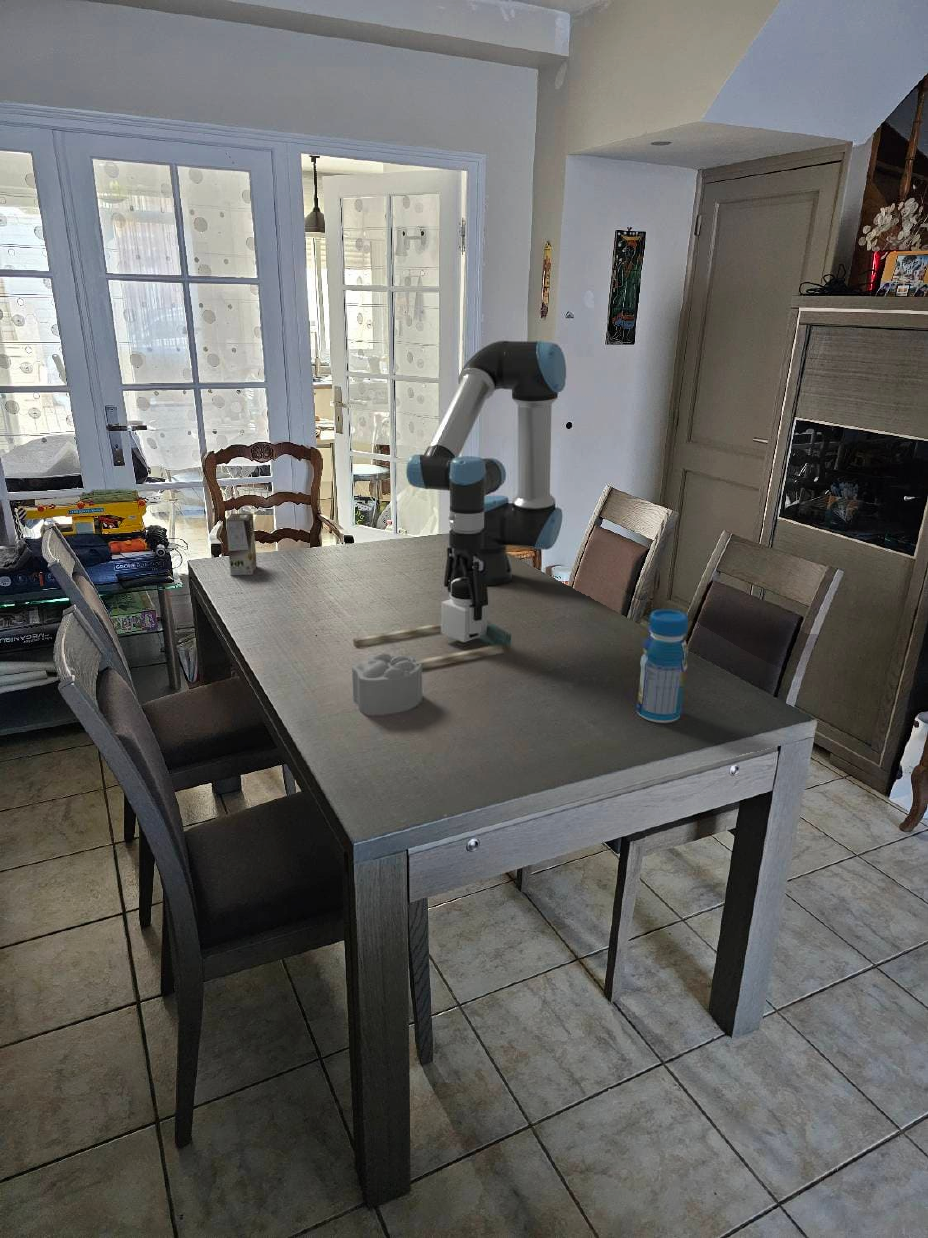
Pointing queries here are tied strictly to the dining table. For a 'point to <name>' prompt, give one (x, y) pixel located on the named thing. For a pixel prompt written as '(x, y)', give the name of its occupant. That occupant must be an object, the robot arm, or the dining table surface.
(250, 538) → the coffee box
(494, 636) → the beige u-shaped frame
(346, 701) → the dining table surface
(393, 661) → the lumpy-topped squat cylinder
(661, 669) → the beverage bottle
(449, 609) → the container
